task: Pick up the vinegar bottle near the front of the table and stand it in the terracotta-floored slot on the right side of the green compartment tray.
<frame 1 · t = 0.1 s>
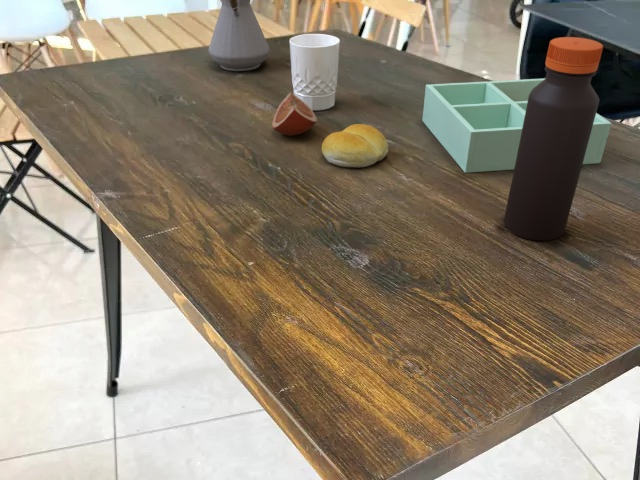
vinegar: (533, 228, 74), on the table
coffee pot: (239, 74, 120), on the table
green compartment tray: (505, 140, 95), on the table
white cup: (314, 105, 107), on the table
bread roll: (354, 157, 90), on the table
fruit slice: (294, 134, 97), on the table
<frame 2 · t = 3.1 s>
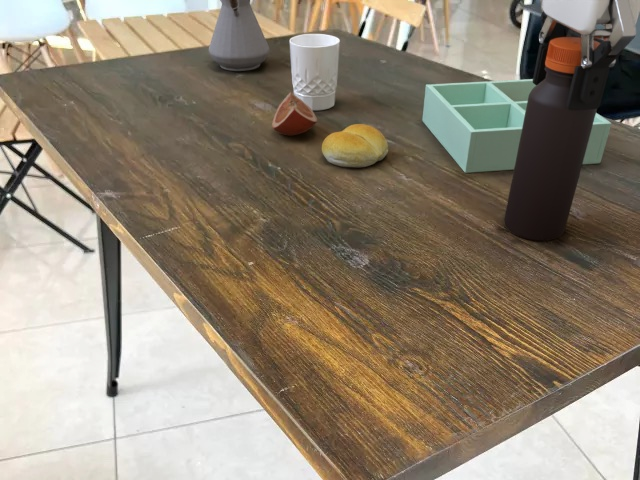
hand: (564, 94, 65), 15 cm above the table, tool pointing down, fingers closed on vinegar, 6 cm apart
vinegar: (533, 228, 74), on the table, touching gripper
everything else where it was.
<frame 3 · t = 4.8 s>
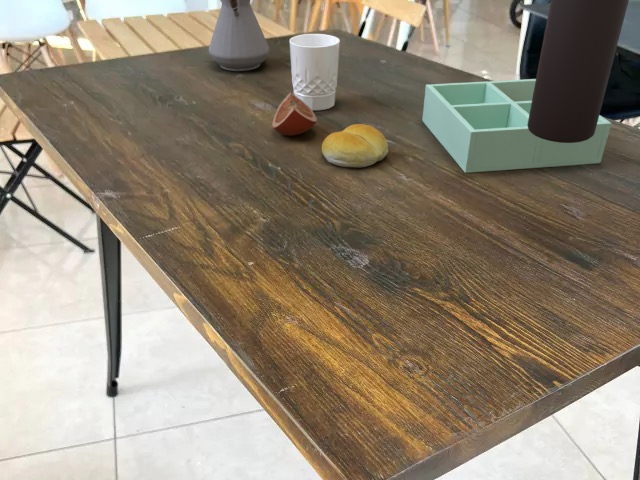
vinegar: (559, 133, 68), point 11 cm above the table, touching gripper
everything else where it was.
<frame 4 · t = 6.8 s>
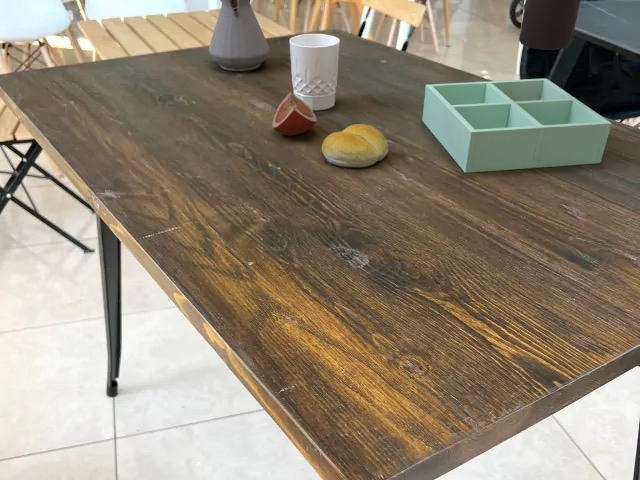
vinegar: (544, 45, 87), point 13 cm above the table, touching gripper
everything else where it was.
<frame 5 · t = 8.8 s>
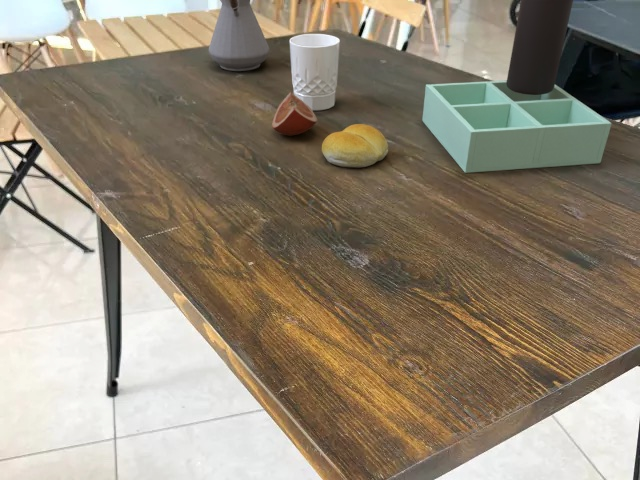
vinegar: (529, 89, 96), point 6 cm above the table, touching gripper
everything else where it was.
when the fingers open (16 cm above the table, at t = 10.5 s): vinegar stays where it is, resting on green compartment tray.
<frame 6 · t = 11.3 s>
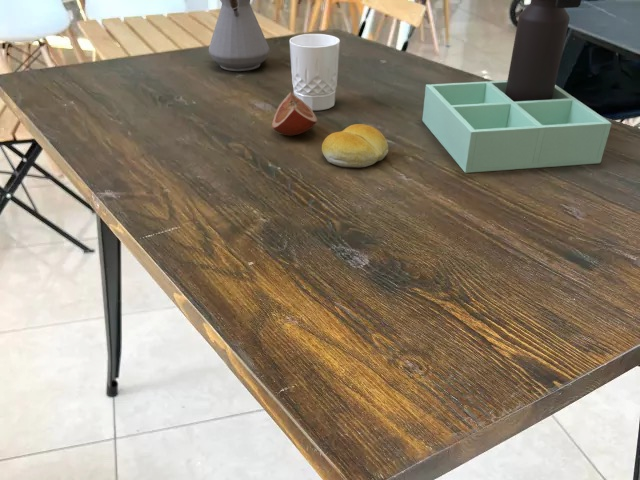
vinegar: (523, 123, 99), point 1 cm above the table, touching green compartment tray
everything else where it was.
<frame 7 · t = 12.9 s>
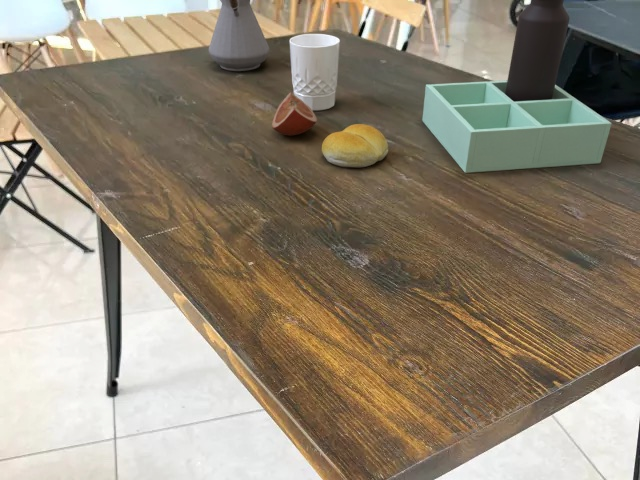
nothing on the table moved.
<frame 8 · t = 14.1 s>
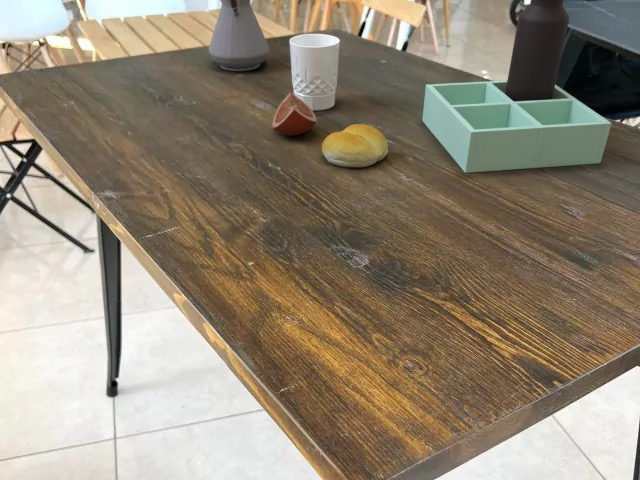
nothing on the table moved.
at the end: vinegar 0.1 cm from the target spot in the green compartment tray, point 0.6 cm above the green compartment tray's base; vinegar tilted 0°; the gripper is holding nothing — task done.
